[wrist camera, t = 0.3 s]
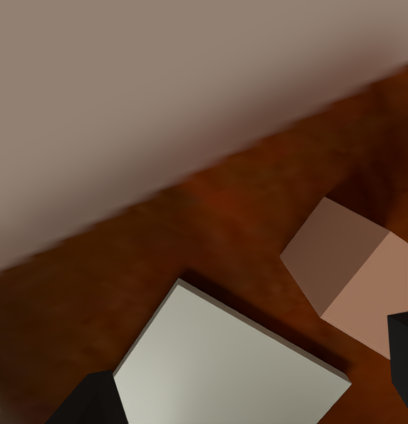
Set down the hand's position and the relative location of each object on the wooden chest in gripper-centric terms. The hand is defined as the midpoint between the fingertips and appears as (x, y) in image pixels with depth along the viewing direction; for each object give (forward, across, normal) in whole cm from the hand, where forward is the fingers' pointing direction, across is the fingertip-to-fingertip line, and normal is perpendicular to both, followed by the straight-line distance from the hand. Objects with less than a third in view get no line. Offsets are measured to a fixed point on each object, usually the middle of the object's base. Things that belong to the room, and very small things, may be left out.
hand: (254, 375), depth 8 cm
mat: (+10, +2, +9) cm, 13 cm away
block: (+10, -6, +1) cm, 11 cm away
